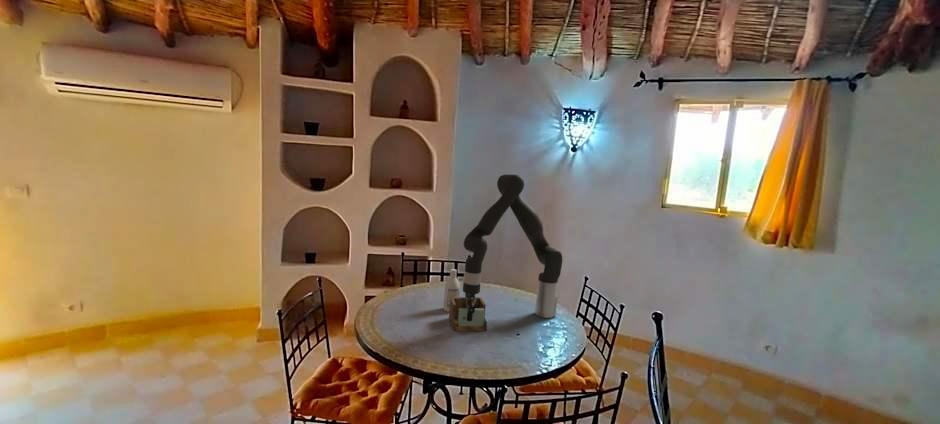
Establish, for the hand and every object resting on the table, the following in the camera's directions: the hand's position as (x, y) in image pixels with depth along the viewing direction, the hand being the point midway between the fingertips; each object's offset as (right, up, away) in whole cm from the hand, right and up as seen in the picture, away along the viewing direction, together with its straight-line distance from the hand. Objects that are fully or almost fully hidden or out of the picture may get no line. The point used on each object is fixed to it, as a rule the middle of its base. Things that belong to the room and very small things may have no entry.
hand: (468, 319), depth 221 cm
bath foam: (-9, 0, +21) cm, 23 cm away
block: (+1, -4, +1) cm, 5 cm away
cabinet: (-1, -3, +5) cm, 6 cm away
